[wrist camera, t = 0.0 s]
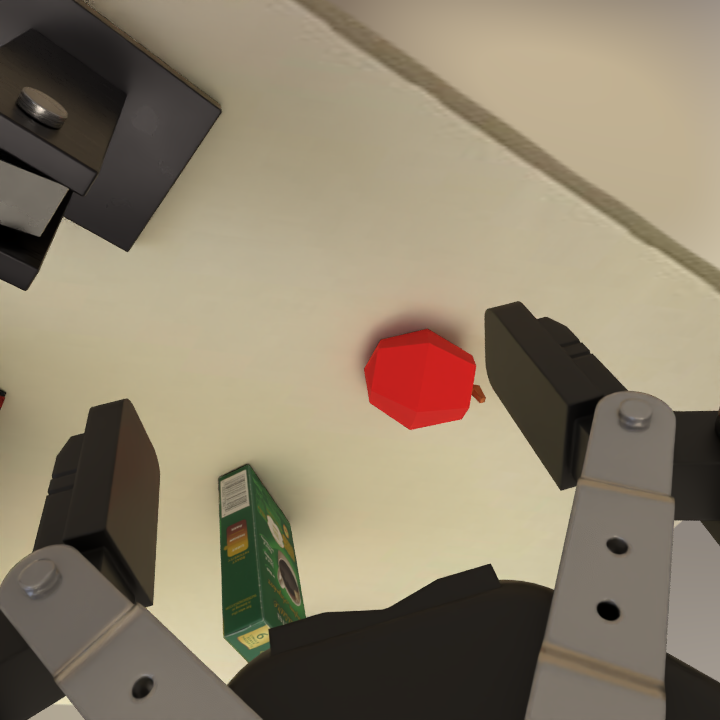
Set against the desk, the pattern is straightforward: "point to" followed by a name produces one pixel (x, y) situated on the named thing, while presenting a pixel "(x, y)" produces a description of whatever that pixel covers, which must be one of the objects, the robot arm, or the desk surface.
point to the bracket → (91, 123)
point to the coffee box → (255, 564)
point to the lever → (27, 196)
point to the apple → (421, 379)
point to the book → (2, 398)
